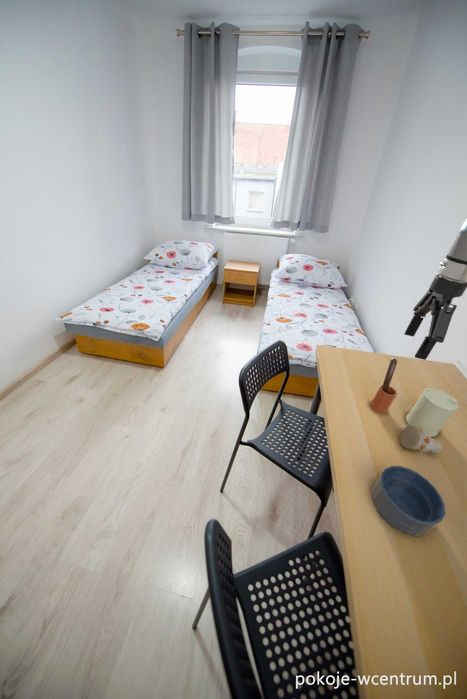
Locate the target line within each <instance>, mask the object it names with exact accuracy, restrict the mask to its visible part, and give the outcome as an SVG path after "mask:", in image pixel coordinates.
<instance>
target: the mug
mask: <svg viewBox="0 0 467 699" xmlns="http://www.w3.org/2000/svg"><path fill="white" fill-rule="evenodd" d="M400 444H401V446H402V447H404V448H405V449H406V450H408V451H409V452H413V453H425V452H426V453H430V454H432V455H436V454H439V453H440V452H441V451H442V445H441V442H440V441H439V440H437V439H435V438H433V437H432V436H429V435H428V434H427V432H426V431H424V430H423V429H422V428H420V427H418V426H413V425H407V426H405V427H404V428H403V429H402V431H401V433H400Z"/></svg>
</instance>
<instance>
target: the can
mask: <svg viewBox="0 0 467 699" xmlns="http://www.w3.org/2000/svg"><path fill="white" fill-rule="evenodd" d="M459 408H460V406H459V402H458V401H457V399H456V398H454V397H453V396H452V395H450V394H449V393H447V392H446V391H445V390H441V389H439V388H436V387H435V388H434V387H428V388H425V389H424V390H423V391H422V394H421V395H420V397H419V398H418V400H417V401H416V402H415V404H414V406H413V407H412V409H411V410H410V411H409V412H408V414H406V416H405V420H406V422H407V424H408V426H410V425H413V426H418V427H420V428H422V429H423V430H424V431H426V432H427V434H428V435H429V436H430V437H436V436H438V434H439V432H440V431H441V430H442V429H443V427H444V426H445V425H446V423H447V422H448V421H449V419H450V418H451V417H452V416H453V415H454V414H455V413H456V412H457V411H458V409H459Z"/></svg>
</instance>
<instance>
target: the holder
mask: <svg viewBox="0 0 467 699" xmlns="http://www.w3.org/2000/svg"><path fill="white" fill-rule="evenodd" d="M382 386H383V384H382V385H380V386H379V388H378V389H377V392H376V393H375V395H374V397H373V398H372V400H371V403H370V408H371V409H372V410H373V411H374V412H376V413H378V414H380V415H381V414H382V415H384V414H386V413H387V412H388V411H389V409H390V407H391V406H392V404H393V402H394V401H395V399H396V397H397V395H398V392H397V390H396V389H395V388H394V387H393V386H391V385H389V388H388V391H387V393H385V392H384V391H383V390H382Z"/></svg>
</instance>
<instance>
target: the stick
mask: <svg viewBox="0 0 467 699" xmlns="http://www.w3.org/2000/svg"><path fill="white" fill-rule="evenodd" d="M397 364H398V360H397V359H396V358H395V357H394V358H391V359H390V361H389V364H388V367H387V370H386V373H385V377H384V380H383V382H382V385H383V386H382V385H381V386H382V390H383V391H384V392H385V393H387V391H388V388H389V386H391V383H392V379H393V376H394V373H395V370H396V367H397Z"/></svg>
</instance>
